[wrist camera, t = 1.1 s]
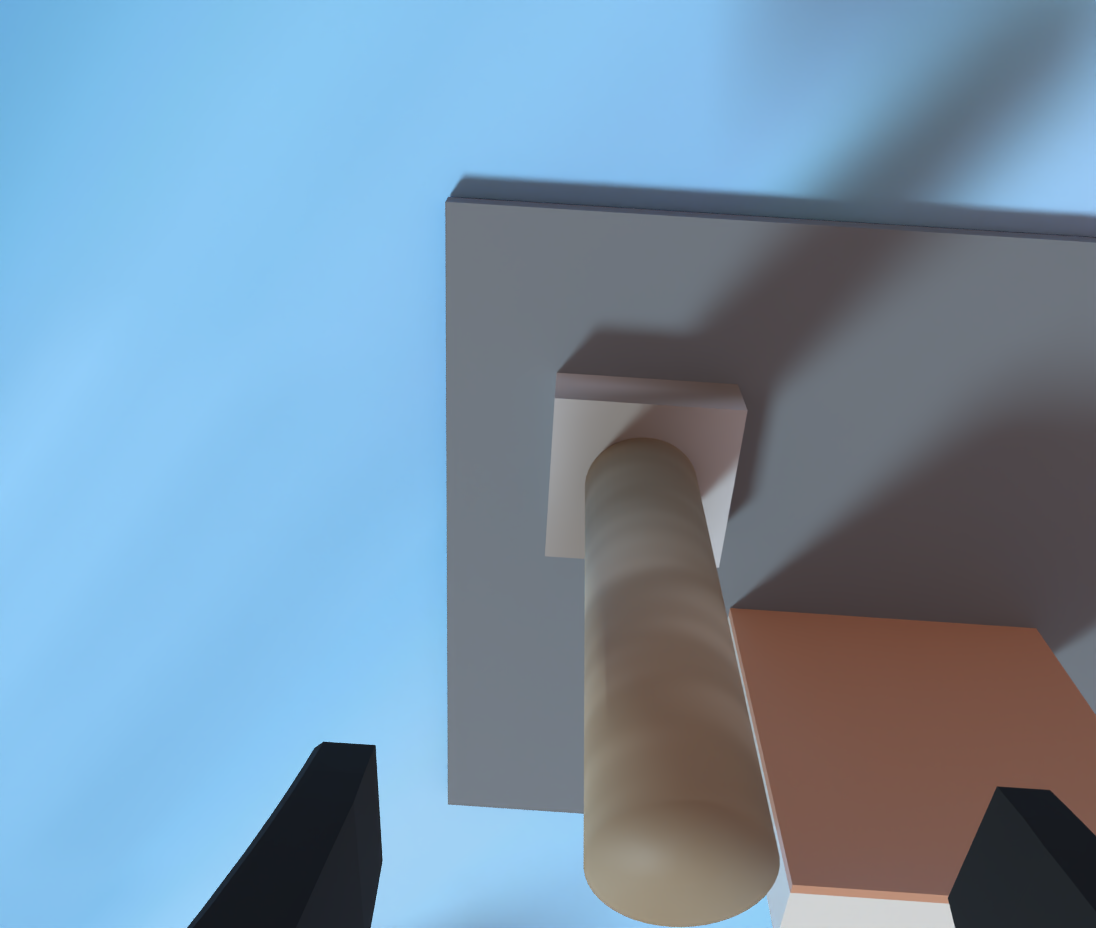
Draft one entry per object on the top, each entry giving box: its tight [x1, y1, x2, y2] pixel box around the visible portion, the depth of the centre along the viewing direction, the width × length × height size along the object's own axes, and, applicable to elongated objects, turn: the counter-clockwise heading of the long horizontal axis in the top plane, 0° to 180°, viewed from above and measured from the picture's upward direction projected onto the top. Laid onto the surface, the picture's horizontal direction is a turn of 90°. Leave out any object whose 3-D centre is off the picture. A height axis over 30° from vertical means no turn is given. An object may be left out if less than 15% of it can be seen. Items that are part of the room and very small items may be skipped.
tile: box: [728, 608, 1096, 928], centre depth 17 cm, size 7×2×7 cm, turn 87°
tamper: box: [545, 373, 780, 927], centre depth 14 cm, size 4×4×10 cm
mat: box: [445, 197, 1096, 814], centre depth 20 cm, size 20×16×1 cm
